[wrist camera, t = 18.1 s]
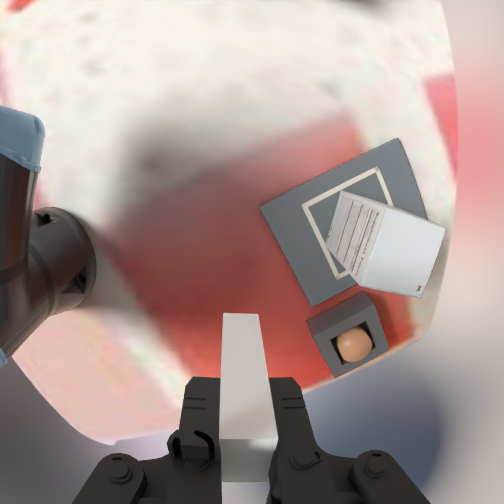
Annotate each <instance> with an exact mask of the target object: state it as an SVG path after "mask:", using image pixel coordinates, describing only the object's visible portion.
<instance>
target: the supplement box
mask: <svg viewBox="0 0 504 504" xmlns="http://www.w3.org/2000/svg"><path fill="white" fill-rule="evenodd" d="M445 230H446V229H445V228H444V227H442V226H440V225H437V224H435V223H433V222H431V221H429V220H426V219H424V218H422V217H419V216H417V215H414V214H412V213H409V212H406V211H404V210H401V209H398V208H396V207H393V206H390V205H387V204H384V203H381V202H378V201H375V200H372V199H369V198H366V197H362V196H359V195H356V194H352V193H349V192H346V191H342V190H341V191H340V195H339V199H338V202H337V206H336V209H335V213H334V216H333V220H332V223H331V226H330V230H329V233H328V237H327V240H326V243H325V246H326V247H327V248H328V250H329V251H330V252H331V253H332V254H333V255H334V256H335V257H336V259H337V260H338V261H339V262H340V263H341V264H342V266H343V267H344V268H345V269H346V270H347V271H348V273H349V274H350V275H351V276H352V277H353V279H354V280H355V281H356V282H357V283H358V284H359V286H361V287H366V288H371V289H376V290H381V291H386V292H390V293H394V294H401V295H406V296H411V297H416V298H421V296H422V293H423V291H424V289H425V287H426V284H427V282H428V279H429V277H430V274H431V271H432V269H433V266H434V263H435V261H436V258H437V255H438V252H439V249H440V246H441V243H442V241H443V237H444V234H445Z"/></svg>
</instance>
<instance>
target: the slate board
mask: <svg viewBox="0 0 504 504" xmlns="http://www.w3.org/2000/svg"><path fill="white" fill-rule="evenodd" d="M341 190H342V191H346V192H349V193H352V194H356V195H359V196H362V197H366V198H369V199H372V200H375V201H378V202H381V203H384V204H387V205H390V206H393V207H396V208H398V209H401V210H404V211H406V212H409V213H412V214H414V215H417V216H419V217H422V218H424V219H426V220H427V217H426V213H425V210H424V207H423V203H422V200H421V197H420V194H419V191H418V188H417V185H416V182H415V179H414V176H413V174H412V171H411V168H410V165H409V163H408V160H407V158H406V155H405V153H404V150H403V148H402V145H401V143H400V140H399V138H395V139H393V140H391V141H389V142H387V143H385V144H383V145H380V146H378V147H376V148H374V149H372V150H370V151H368V152H366V153H364V154H362V155H360V156H358V157H355V158H353V159H351V160H349V161H347V162H345V163H343V164H341V165H339V166H337V167H335V168H333V169H331V170H329V171H327V172H325V173H323V174H321V175H319V176H317V177H315V178H313V179H311V180H309V181H307V182H305V183H303V184H301V185H299V186H297V187H295V188H294V189H292V190H290V191H288V192H286V193H284V194H282V195H280V196H278V197H276V198H274V199H272V200H270V201H269V202H267V203H265V204H263V205H261V206H259V208H260V210H261V212H262V214H263V216H264V218H265V219H266V221H267V223H268V225H269V227H270V229H271V231H272V232H273V234H274V236H275V238H276V240H277V242H278V244H279V246H280V247H281V249H282V251H283V253H284V255H285V257H286V259H287V261H288V263H289V265H290V266H291V268H292V270H293V272H294V274H295V276H296V278H297V280H298V282H299V284H300V286H301V288H302V290H303V291H304V293H305V295H306V297H307V299H308V301H309V303H310V305H311V307H314V306H316V305H318V304H320V303H322V302H324V301H326V300H327V299H329V298H331V297H333V296H335V295H337V294H339V293H341V292H343V291H344V290H346V289H348V288H350V287H352V286H354V285H356V284H357V282H356V281H355V280H354V279H353V277H352V276H351V275H350V274H349V273H348V271H347V270H346V269H345V268H344V267H343V266H342V264H341V263H340V262H339V261H338V260H337V259H336V257H335V256H334V255H333V254H332V253H331V252H330V251H329V250H328V248H327V247H326V246H325V243H326V240H327V237H328V233H329V230H330V226H331V223H332V220H333V216H334V213H335V209H336V206H337V202H338V199H339V195H340V191H341Z"/></svg>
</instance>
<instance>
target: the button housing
mask: <svg viewBox="0 0 504 504" xmlns="http://www.w3.org/2000/svg"><path fill="white" fill-rule="evenodd" d="M306 321H307V324H308V326H309V329H310V332H311V334H312V337H313V339H314V340H315V342H316V344H317V346H318V348H319V350H320V352H321V354H322V355H323V357H324V359H325V361H326V363H327V365H328V367H329V369H330V370H331V372H332V374H333V376H334V378H337V377H339V376H341V375H343V374H345V373H347V372H349V371H351V370H353V369H355V368H357V367H359V366H361V365H363V364H365V363H366V362H368V361H370V360H372V359H374V358H376V357H378V356H379V355H381V354H383V353H385V352H386V351H388V350H390V349H389V346H388V343H387V340H386V337H385V333H384V330H383V327H382V324H381V321H380V318H379V316H378V313H377V310H376V307H375V304H374V303H373V301H372V300H371V299H370V298H369V297H368V295H367V294H366V293H365V292H364V291H362V292H360V293H358V294H356V295H354V296H353V297H351V298H349V299H347V300H345V301H343V302H341V303H340V304H338V305H336V306H334V307H332V308H330V309H328V310H326V311H324V312H322V313H320V314H318V315H316V316H314V317H312V318H310V319H308V320H306ZM359 324H361V326H362V327H363V329H364V330H365V332H366V333H367V335H368V336H369V338H370V339H371V342H372V348H371V350H370V352H369V354H368V355H367V356H366V357H364V358H363V359H361V360H359V361H356V362H348V361H346V360H344V359H343V357H342V355H341V353H340V351H339V349H338V347H337V345H336V343H335V340H334V337H336V336H338V335H340V334H342V333H344V332H346V331H348V330H349V329H351V328H353V327H355V326H357V325H359Z"/></svg>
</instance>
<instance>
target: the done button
mask: <svg viewBox="0 0 504 504" xmlns="http://www.w3.org/2000/svg"><path fill="white" fill-rule="evenodd" d="M334 340H335V343H336V345H337V347H338V349H339V351H340V353H341V355H342V357H343V359H344V360H346V361H348V362H356V361H359V360H361V359H363V358H364V357H366V356H367V355H368V354H369V352H370V350H371V348H372V342H371V339H370V338H369V336H368V335H367V333H366V332H365V330H364V329H363V327H362V326H361V324H359V325H357V326H355V327H353V328H351V329H349V330H348V331H346V332H344V333H342V334H340V335H338V336H336V337H334Z"/></svg>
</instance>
